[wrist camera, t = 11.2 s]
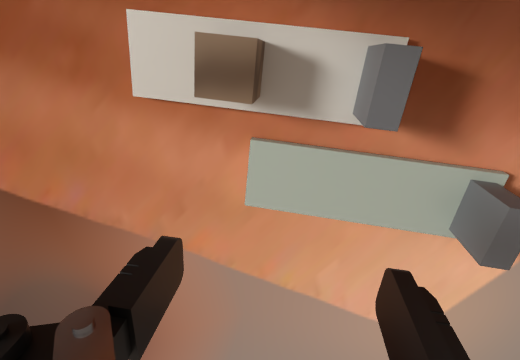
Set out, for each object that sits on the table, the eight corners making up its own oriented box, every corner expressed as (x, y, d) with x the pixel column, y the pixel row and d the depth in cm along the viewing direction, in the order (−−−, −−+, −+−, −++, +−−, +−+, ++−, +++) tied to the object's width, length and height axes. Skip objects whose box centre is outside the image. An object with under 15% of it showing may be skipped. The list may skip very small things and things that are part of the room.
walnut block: (213, 35, 27) (194, 31, 22) (265, 41, 26) (257, 38, 22) (211, 90, 29) (194, 97, 24) (259, 96, 28) (251, 104, 24)
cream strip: (132, 10, 28) (81, -4, 21) (405, 38, 26) (439, 31, 19) (138, 94, 31) (95, 104, 25) (381, 125, 29) (403, 145, 23)
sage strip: (252, 137, 31) (239, 157, 25) (502, 171, 29) (559, 203, 23) (246, 201, 34) (233, 233, 28) (471, 236, 32) (512, 280, 26)
